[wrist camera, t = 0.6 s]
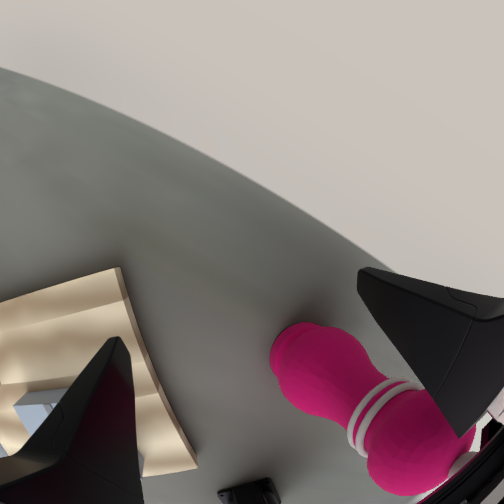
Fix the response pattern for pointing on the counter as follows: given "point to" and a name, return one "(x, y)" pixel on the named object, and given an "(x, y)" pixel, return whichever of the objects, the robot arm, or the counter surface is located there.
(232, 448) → the counter surface
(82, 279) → the pin board
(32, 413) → the block
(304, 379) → the pepper mill
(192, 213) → the counter surface
